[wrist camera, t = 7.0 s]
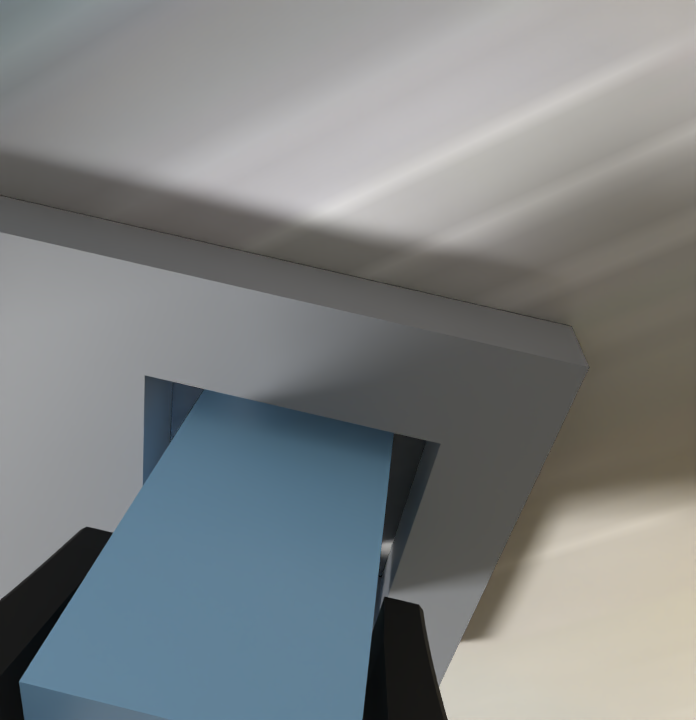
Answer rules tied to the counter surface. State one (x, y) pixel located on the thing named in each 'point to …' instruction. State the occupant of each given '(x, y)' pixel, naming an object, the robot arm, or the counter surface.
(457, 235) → the counter surface
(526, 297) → the counter surface
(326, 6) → the counter surface
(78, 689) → the plug
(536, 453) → the holder plate
